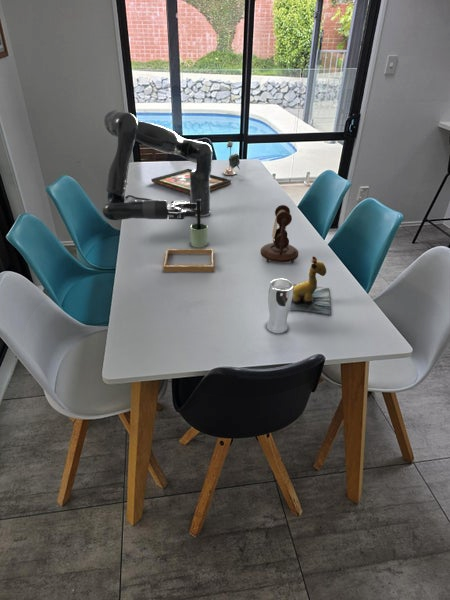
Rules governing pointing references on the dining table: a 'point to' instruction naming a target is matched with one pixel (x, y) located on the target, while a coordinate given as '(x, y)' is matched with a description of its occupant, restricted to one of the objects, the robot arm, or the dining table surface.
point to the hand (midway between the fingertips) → (196, 209)
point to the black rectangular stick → (198, 215)
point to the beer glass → (279, 304)
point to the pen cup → (199, 235)
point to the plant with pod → (232, 161)
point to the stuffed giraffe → (312, 292)
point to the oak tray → (188, 267)
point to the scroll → (280, 239)
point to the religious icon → (187, 181)
